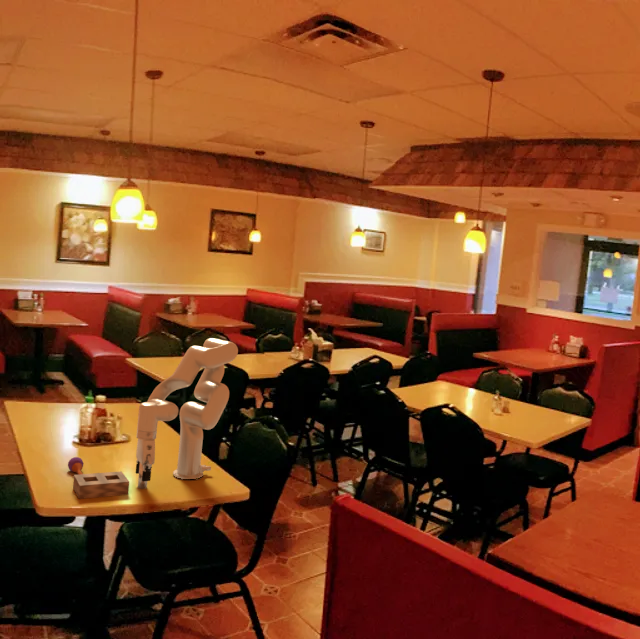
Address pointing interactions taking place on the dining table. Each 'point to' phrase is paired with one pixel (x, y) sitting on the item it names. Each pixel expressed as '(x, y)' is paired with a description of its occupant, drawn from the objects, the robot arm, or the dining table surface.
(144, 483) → the steel pin
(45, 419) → the dining table surface
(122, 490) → the walnut block
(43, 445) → the dining table surface
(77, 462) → the kendama
